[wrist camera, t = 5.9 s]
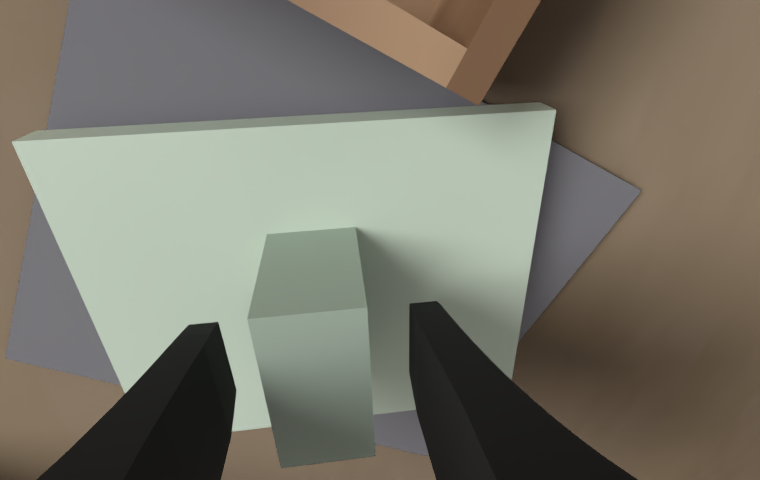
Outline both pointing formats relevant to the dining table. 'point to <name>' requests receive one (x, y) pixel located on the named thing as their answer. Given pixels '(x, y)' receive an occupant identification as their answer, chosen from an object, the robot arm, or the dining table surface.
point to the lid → (300, 249)
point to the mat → (244, 101)
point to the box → (435, 35)
